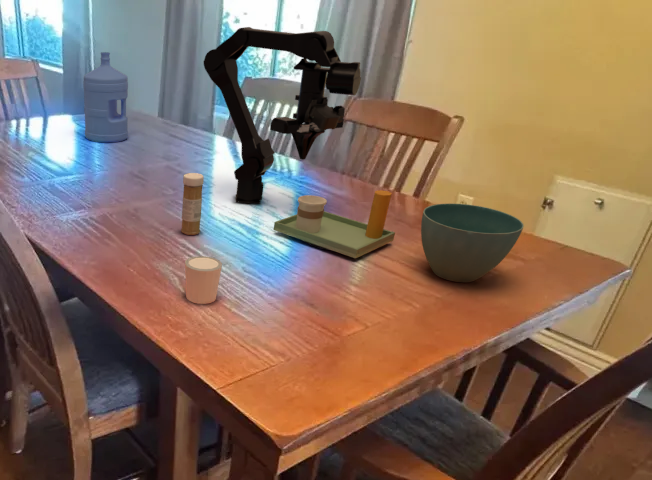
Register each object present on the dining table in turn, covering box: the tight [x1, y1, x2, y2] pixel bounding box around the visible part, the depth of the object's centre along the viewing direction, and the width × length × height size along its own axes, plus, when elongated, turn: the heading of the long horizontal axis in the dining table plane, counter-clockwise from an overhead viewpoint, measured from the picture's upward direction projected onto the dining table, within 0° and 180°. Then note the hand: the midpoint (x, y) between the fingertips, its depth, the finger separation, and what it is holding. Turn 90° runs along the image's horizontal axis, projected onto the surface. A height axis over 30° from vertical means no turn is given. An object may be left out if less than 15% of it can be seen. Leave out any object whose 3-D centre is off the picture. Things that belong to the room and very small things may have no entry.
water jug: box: [82, 51, 129, 143], centre depth 216 cm, size 16×16×28 cm
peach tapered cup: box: [184, 255, 223, 305], centre depth 114 cm, size 7×7×7 cm
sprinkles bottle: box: [180, 172, 205, 236], centre depth 141 cm, size 5×5×14 cm
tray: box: [273, 189, 396, 259], centre depth 139 cm, size 22×16×11 cm
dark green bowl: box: [420, 202, 525, 283], centre depth 124 cm, size 18×18×12 cm
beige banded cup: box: [295, 194, 328, 233], centre depth 141 cm, size 6×6×7 cm
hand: (302, 159), depth 153 cm, fingers closed
